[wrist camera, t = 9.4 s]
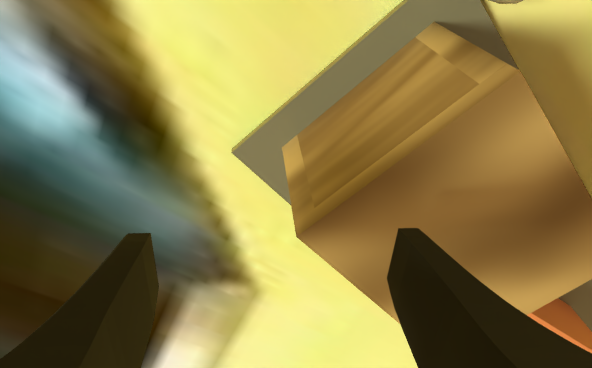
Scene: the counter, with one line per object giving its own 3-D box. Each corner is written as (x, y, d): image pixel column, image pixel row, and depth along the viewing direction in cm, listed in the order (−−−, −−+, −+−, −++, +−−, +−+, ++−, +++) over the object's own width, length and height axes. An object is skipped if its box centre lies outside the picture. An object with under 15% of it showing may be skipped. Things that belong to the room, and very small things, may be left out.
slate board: (232, 148, 22) (231, 152, 21) (452, -43, 18) (456, -42, 18) (496, 384, 36) (498, 389, 36) (648, 306, 32) (653, 310, 32)
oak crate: (281, 147, 21) (296, 236, 15) (433, 21, 19) (520, 71, 13) (399, 261, 26) (444, 361, 21) (531, 174, 24) (625, 259, 18)
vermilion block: (428, 283, 28) (461, 348, 24) (475, 243, 26) (519, 305, 22) (525, 338, 32) (568, 402, 28) (570, 306, 31) (622, 369, 26)
